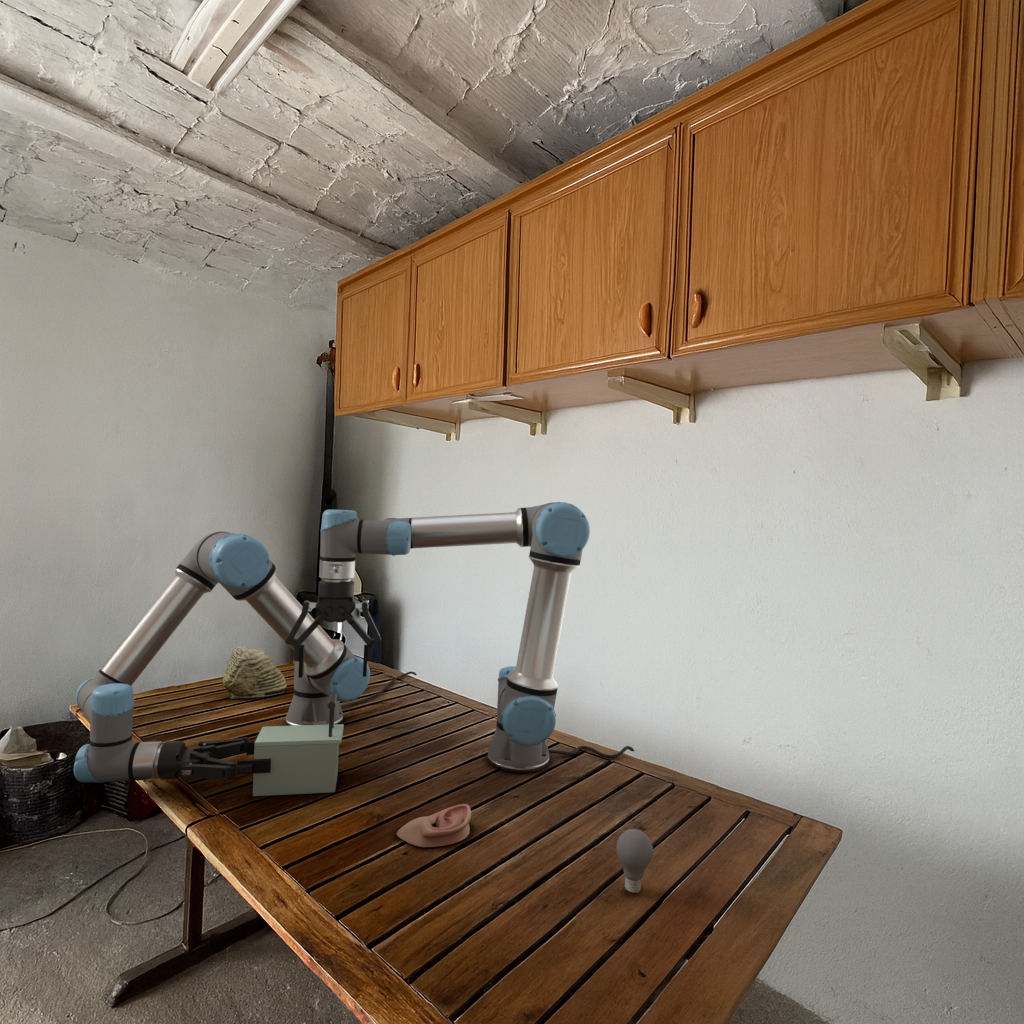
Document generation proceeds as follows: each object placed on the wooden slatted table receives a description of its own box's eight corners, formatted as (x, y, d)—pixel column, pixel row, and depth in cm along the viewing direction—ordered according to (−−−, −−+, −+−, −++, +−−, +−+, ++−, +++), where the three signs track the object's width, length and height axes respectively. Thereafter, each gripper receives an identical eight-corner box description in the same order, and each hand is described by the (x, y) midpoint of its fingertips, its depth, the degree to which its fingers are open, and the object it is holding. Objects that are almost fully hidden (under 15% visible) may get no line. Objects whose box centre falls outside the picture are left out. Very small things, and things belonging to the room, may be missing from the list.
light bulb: (610, 879, 108) (613, 822, 108) (644, 879, 109) (647, 822, 109) (619, 902, 102) (622, 840, 102) (655, 901, 103) (658, 840, 103)
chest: (337, 773, 145) (339, 728, 145) (335, 792, 136) (336, 743, 136) (260, 777, 142) (262, 730, 142) (252, 796, 133) (254, 746, 132)
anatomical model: (391, 821, 117) (413, 793, 128) (390, 842, 117) (412, 813, 128) (460, 832, 114) (476, 802, 125) (459, 853, 114) (475, 822, 126)
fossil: (218, 695, 195) (220, 647, 195) (278, 685, 208) (279, 640, 207) (228, 703, 189) (230, 653, 188) (289, 692, 201) (290, 645, 201)
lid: (343, 727, 145) (345, 690, 145) (341, 743, 136) (342, 703, 136) (262, 730, 142) (263, 691, 141) (254, 746, 132) (256, 705, 132)
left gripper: (177, 756, 144) (281, 753, 149) (142, 803, 122) (264, 796, 127) (178, 724, 144) (282, 721, 148) (143, 764, 122) (266, 759, 127)
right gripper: (274, 581, 133) (270, 681, 134) (394, 582, 138) (390, 679, 139) (279, 576, 141) (276, 671, 141) (394, 578, 146) (390, 670, 146)
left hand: (274, 756), depth 138 cm, fingers closed on chest, 9 cm apart
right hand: (333, 675), depth 140 cm, fingers open, 13 cm apart
